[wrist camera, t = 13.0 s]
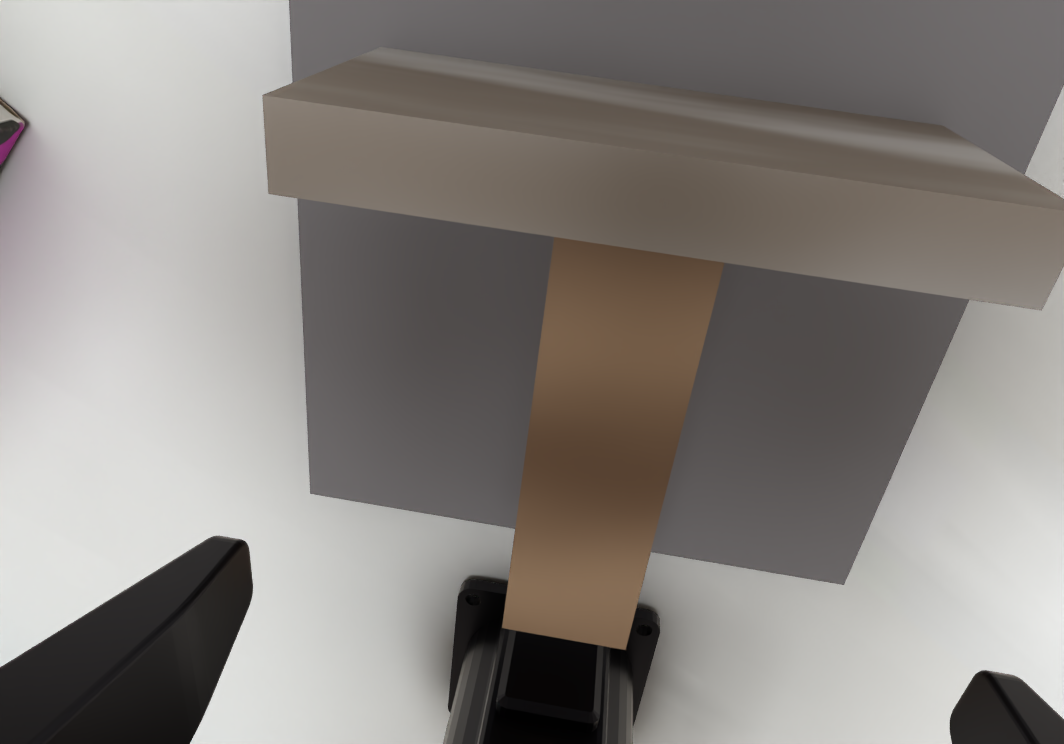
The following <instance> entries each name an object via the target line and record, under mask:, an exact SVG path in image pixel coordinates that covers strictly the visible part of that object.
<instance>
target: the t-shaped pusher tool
mask: <svg viewBox="0 0 1064 744" xmlns="http://www.w3.org/2000/svg"><path fill="white" fill-rule="evenodd" d="M262 96H263V112H264V128H265V144H266V160H267V176H268V192H269V194H273V195H280V196H286V197H293V198H299V199H306V200H313V201H319V202H326V203H333V204H339V205H346V206H353V207H359V208H366V209H372V210H379V211H386V212H392V213H399V214H406V215H412V216H419V217H425V218H432V219H439V220H445V221H452V222H459V223H465V224H472V225H479V226H485V227H492V228H498V229H505V230H512V231H518V232H525V233H532V234H538V235H545V236H551V237H554V242H553V250H552V257H551V265H550V272H549V280H548V287H547V295H546V302H545V310H544V317H543V325H542V332H541V340H540V347H539V355H538V362H537V370H536V377H535V385H534V392H533V400H532V407H531V415H530V422H529V430H528V437H527V445H526V452H525V460H524V467H523V475H522V482H521V490H520V497H519V505H518V512H517V520H516V527H515V535H514V542H513V550H512V557H511V565H510V572H509V580H508V587H507V595H506V602H505V610H504V617H503V625H502V628H505V629H510V630H516V631H521V632H527V633H533V634H538V635H544V636H550V637H555V638H561V639H566V640H572V641H578V642H583V643H589V644H595V645H600V646H606V647H611V648H617V649H623V650H626V646H627V642H628V638H629V634H630V630H631V627H632V623H633V619H634V615H635V611H636V607H637V603H638V599H639V595H640V591H641V587H642V584H643V580H644V576H645V572H646V568H647V564H648V560H649V556H650V552H651V548H652V544H653V540H654V537H655V533H656V529H657V525H658V521H659V517H660V513H661V509H662V505H663V501H664V497H665V494H666V490H667V486H668V482H669V478H670V474H671V470H672V466H673V462H674V458H675V454H676V451H677V447H678V443H679V439H680V435H681V431H682V427H683V423H684V419H685V415H686V411H687V408H688V404H689V400H690V396H691V392H692V388H693V384H694V380H695V376H696V372H697V368H698V365H699V361H700V357H701V353H702V349H703V345H704V341H705V337H706V333H707V329H708V325H709V322H710V318H711V314H712V310H713V306H714V302H715V298H716V294H717V290H718V286H719V282H720V278H721V275H722V271H723V267H724V263H731V264H737V265H744V266H750V267H757V268H764V269H770V270H777V271H784V272H790V273H797V274H803V275H810V276H817V277H823V278H830V279H837V280H843V281H850V282H857V283H863V284H870V285H876V286H883V287H890V288H896V289H903V290H910V291H916V292H923V293H929V294H936V295H943V296H949V297H956V298H963V299H969V300H976V301H983V302H989V303H996V304H1002V305H1009V306H1016V307H1022V308H1029V309H1036V310H1042V309H1043V307H1044V305H1045V303H1046V301H1047V299H1048V297H1049V295H1050V293H1051V291H1052V289H1053V287H1054V284H1055V282H1056V280H1057V278H1058V276H1059V274H1060V272H1061V270H1062V268H1063V266H1064V199H1063V198H1061V197H1060V196H1058V195H1056V194H1055V193H1053V192H1051V191H1050V190H1048V189H1047V188H1045V187H1043V186H1042V185H1040V184H1038V183H1037V182H1035V181H1033V180H1032V179H1030V178H1028V177H1027V176H1025V175H1023V174H1022V173H1020V172H1019V171H1017V170H1015V169H1014V168H1012V167H1010V166H1009V165H1007V164H1005V163H1004V162H1002V161H1000V160H999V159H997V158H996V157H994V156H992V155H991V154H989V153H987V152H986V151H984V150H982V149H981V148H979V147H977V146H976V145H974V144H972V143H971V142H969V141H968V140H966V139H964V138H963V137H961V136H959V135H958V134H956V133H954V132H953V131H951V130H949V129H948V128H946V127H945V126H943V125H936V124H929V123H921V122H914V121H907V120H900V119H893V118H886V117H878V116H871V115H864V114H857V113H850V112H843V111H835V110H828V109H821V108H814V107H807V106H800V105H792V104H785V103H778V102H771V101H764V100H757V99H749V98H742V97H735V96H728V95H721V94H714V93H706V92H699V91H692V90H685V89H678V88H671V87H664V86H656V85H649V84H642V83H635V82H628V81H621V80H613V79H606V78H599V77H592V76H585V75H578V74H570V73H563V72H556V71H549V70H542V69H535V68H527V67H520V66H513V65H506V64H499V63H492V62H484V61H477V60H470V59H463V58H456V57H449V56H441V55H434V54H427V53H420V52H413V51H406V50H399V49H391V48H384V47H380V48H378V49H375V50H373V51H370V52H368V53H365V54H363V55H360V56H358V57H355V58H353V59H351V60H348V61H346V62H343V63H341V64H338V65H336V66H333V67H331V68H328V69H326V70H323V71H321V72H319V73H316V74H314V75H311V76H309V77H306V78H304V79H301V80H299V81H296V82H294V83H292V84H289V85H287V86H284V87H282V88H279V89H277V90H274V91H272V92H269V93H267V94H265V95H262Z"/></svg>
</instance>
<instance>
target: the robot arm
mask: <svg viewBox="0 0 1064 744" xmlns="http://www.w3.org/2000/svg"><path fill="white" fill-rule="evenodd" d="M507 587H508V585H504V584H498V583H493V582H487V581H481V580H468V581H465V582H464V583H463V584H462V585H461V588H460V591H459V595H458V601H457V612H456V624H455V635H454V646H453V657H452V669H451V680H450V691H449V702H448V709H449V712H450V717H449V721H448V725H447V729H446V733H445V737H444V741H443V744H633V725H634V722H635V718H636V715H637V711H638V708H639V704H640V701H641V697H642V694H643V690H644V687H645V683H646V680H647V676H648V673H649V669H650V666H651V662H652V659H653V655H654V652H655V648H656V645H657V641H658V638H659V634H660V619H659V617H658V615H657V614H656V613H654V612H653V611H650V610H647V609H641V608H636V611H635V615H634V619H633V623H632V627H631V630H630V634H629V638H628V642H627V646H626V650H623V649H617V648H611V647H606V646H600V645H595V644H589V643H583V642H578V641H572V640H566V639H561V638H555V637H550V636H544V635H538V634H533V633H527V632H521V631H516V630H510V629H505V628H502V625H503V617H504V610H505V602H506V595H507ZM252 593H253V581H252V572H251V562H250V552H249V547H248V545H247V543H246V542H245V541H243V540H241V539H235V538H229V537H223V536H213V537H211V538H208V539H207V540H205V541H203V542H202V543H200V544H199V545H197V546H195V547H194V548H192V549H191V550H189V551H187V552H186V553H184V554H182V555H181V556H179V557H178V558H176V559H174V560H173V561H171V562H170V563H168V564H166V565H165V566H163V567H161V568H160V569H158V570H157V571H155V572H153V573H152V574H150V575H149V576H147V577H145V578H144V579H142V580H140V581H139V582H137V583H136V584H134V585H132V586H131V587H129V588H128V589H126V590H124V591H123V592H121V593H120V594H118V595H116V596H115V597H113V598H111V599H110V600H108V601H107V602H105V603H103V604H102V605H100V606H99V607H97V608H95V609H94V610H92V611H90V612H89V613H87V614H86V615H84V616H82V617H81V618H79V619H78V620H76V621H74V622H73V623H71V624H70V625H68V626H66V627H65V628H63V629H61V630H60V631H58V632H57V633H55V634H53V635H52V636H50V637H49V638H47V639H45V640H44V641H42V642H40V643H39V644H37V645H36V646H34V647H32V648H31V649H29V650H28V651H26V652H24V653H23V654H21V655H20V656H18V657H16V658H15V659H13V660H11V661H10V662H8V663H7V664H5V665H3V666H2V667H0V744H190V742H191V740H192V738H193V736H194V734H195V732H196V730H197V728H198V726H199V724H200V722H201V720H202V718H203V716H204V714H205V712H206V709H207V707H208V705H209V702H210V700H211V698H212V695H213V693H214V690H215V688H216V686H217V683H218V681H219V678H220V676H221V673H222V671H223V669H224V666H225V664H226V661H227V659H228V657H229V654H230V652H231V649H232V647H233V644H234V642H235V640H236V637H237V635H238V632H239V630H240V627H241V625H242V623H243V620H244V618H245V615H246V613H247V610H248V608H249V605H250V602H251V599H252ZM470 594H474V595H477V596H478V597H475V596H472V595H470ZM645 624H646V625H648V626H641V625H645ZM950 735H951V740H952V744H1064V719H1063V718H1062V717H1061V716H1060V715H1059V714H1058V713H1057V712H1056V711H1055V710H1053V709H1052V708H1051V707H1050V706H1049V705H1048V704H1047V703H1046V702H1045V701H1044V700H1043V699H1042V698H1041V697H1040V696H1039V695H1038V694H1037V693H1036V692H1035V691H1034V690H1032V689H1031V688H1030V687H1029V686H1028V685H1027V684H1026V683H1025V682H1024V681H1023V680H1021V679H1020V678H1018V677H1016V676H1014V675H1010V674H1004V673H998V672H993V671H987V670H984V671H980V672H978V673H977V674H975V676H974V677H973V678H972V680H971V682H970V683H969V685H968V687H967V688H966V690H965V691H964V693H963V695H962V696H961V698H960V699H959V701H958V703H957V704H956V706H955V708H954V709H953V711H952V714H951V718H950Z"/></svg>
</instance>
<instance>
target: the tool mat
mask: <svg viewBox="0 0 1064 744" xmlns="http://www.w3.org/2000/svg"><path fill="white" fill-rule="evenodd" d="M289 8H290V32H291V55H292V78H293V83H294V82H296V81H299V80H301V79H304V78H306V77H309V76H311V75H314V74H316V73H319V72H321V71H323V70H326V69H328V68H331V67H333V66H336V65H338V64H341V63H343V62H346V61H348V60H351V59H353V58H355V57H358V56H360V55H363V54H365V53H368V52H370V51H373V50H375V49H378V48H380V47H384V48H391V49H399V50H406V51H413V52H420V53H427V54H434V55H441V56H449V57H456V58H463V59H470V60H477V61H484V62H492V63H499V64H506V65H513V66H520V67H527V68H535V69H542V70H549V71H556V72H563V73H570V74H578V75H585V76H592V77H599V78H606V79H613V80H621V81H628V82H635V83H642V84H649V85H656V86H664V87H671V88H678V89H685V90H692V91H699V92H706V93H714V94H721V95H728V96H735V97H742V98H749V99H757V100H764V101H771V102H778V103H785V104H792V105H800V106H807V107H814V108H821V109H828V110H835V111H843V112H850V113H857V114H864V115H871V116H878V117H886V118H893V119H900V120H907V121H914V122H921V123H929V124H936V125H943V126H945V127H946V128H948V129H949V130H951V131H953V132H954V133H956V134H958V135H959V136H961V137H963V138H964V139H966V140H968V141H969V142H971V143H972V144H974V145H976V146H977V147H979V148H981V149H982V150H984V151H986V152H987V153H989V154H991V155H992V156H994V157H996V158H997V159H999V160H1000V161H1002V162H1004V163H1005V164H1007V165H1009V166H1010V167H1012V168H1014V169H1015V170H1017V171H1019V172H1020V173H1022V174H1023V175H1024V174H1025V172H1026V169H1027V167H1028V165H1029V162H1030V160H1031V158H1032V156H1033V153H1034V151H1035V149H1036V147H1037V144H1038V142H1039V140H1040V137H1041V135H1042V133H1043V131H1044V128H1045V126H1046V124H1047V122H1048V119H1049V117H1050V115H1051V112H1052V110H1053V108H1054V106H1055V103H1056V101H1057V99H1058V97H1059V94H1060V92H1061V90H1062V87H1063V85H1064V0H289ZM298 218H299V242H300V265H301V288H302V311H303V335H304V358H305V381H306V405H307V428H308V451H309V475H310V494H316V495H321V496H327V497H333V498H339V499H345V500H351V501H356V502H362V503H368V504H374V505H380V506H386V507H392V508H397V509H403V510H409V511H415V512H421V513H427V514H432V515H438V516H444V517H450V518H456V519H462V520H468V521H473V522H479V523H485V524H491V525H497V526H503V527H508V528H514V529H515V527H516V520H517V512H518V505H519V497H520V490H521V482H522V475H523V467H524V460H525V452H526V445H527V437H528V430H529V422H530V415H531V407H532V400H533V392H534V385H535V377H536V370H537V362H538V355H539V347H540V340H541V332H542V325H543V317H544V310H545V302H546V295H547V287H548V280H549V272H550V265H551V257H552V250H553V242H554V237H551V236H545V235H538V234H532V233H525V232H518V231H512V230H505V229H498V228H492V227H485V226H479V225H472V224H465V223H459V222H452V221H445V220H439V219H432V218H425V217H419V216H412V215H406V214H399V213H392V212H386V211H379V210H372V209H366V208H359V207H353V206H346V205H339V204H333V203H326V202H319V201H313V200H306V199H299V198H298ZM968 301H969V299H963V298H956V297H949V296H943V295H936V294H929V293H923V292H916V291H910V290H903V289H896V288H890V287H883V286H876V285H870V284H863V283H857V282H850V281H843V280H837V279H830V278H823V277H817V276H810V275H803V274H797V273H790V272H784V271H777V270H770V269H764V268H757V267H750V266H744V265H737V264H731V263H724V267H723V271H722V275H721V278H720V282H719V286H718V290H717V294H716V298H715V302H714V306H713V310H712V314H711V318H710V322H709V325H708V329H707V333H706V337H705V341H704V345H703V349H702V353H701V357H700V361H699V365H698V368H697V372H696V376H695V380H694V384H693V388H692V392H691V396H690V400H689V404H688V408H687V411H686V415H685V419H684V423H683V427H682V431H681V435H680V439H679V443H678V447H677V451H676V454H675V458H674V462H673V466H672V470H671V474H670V478H669V482H668V486H667V490H666V494H665V497H664V501H663V505H662V509H661V513H660V517H659V521H658V525H657V529H656V533H655V537H654V540H653V544H652V548H651V552H655V553H660V554H666V555H672V556H678V557H684V558H690V559H696V560H701V561H707V562H713V563H719V564H725V565H731V566H737V567H742V568H748V569H754V570H760V571H766V572H772V573H777V574H783V575H789V576H795V577H801V578H807V579H813V580H818V581H824V582H830V583H836V584H842V585H844V583H845V581H846V579H847V576H848V574H849V572H850V570H851V567H852V565H853V563H854V561H855V558H856V556H857V554H858V551H859V549H860V547H861V545H862V542H863V540H864V538H865V535H866V533H867V531H868V529H869V526H870V524H871V522H872V520H873V517H874V515H875V513H876V510H877V508H878V506H879V504H880V501H881V499H882V497H883V495H884V492H885V490H886V488H887V485H888V483H889V481H890V479H891V476H892V474H893V472H894V470H895V467H896V465H897V463H898V460H899V458H900V456H901V454H902V451H903V449H904V447H905V445H906V442H907V440H908V438H909V435H910V433H911V431H912V429H913V426H914V424H915V422H916V419H917V417H918V415H919V413H920V410H921V408H922V406H923V404H924V401H925V399H926V397H927V394H928V392H929V390H930V388H931V385H932V383H933V381H934V379H935V376H936V374H937V372H938V369H939V367H940V365H941V363H942V360H943V358H944V356H945V354H946V351H947V349H948V347H949V344H950V342H951V340H952V338H953V335H954V333H955V331H956V329H957V326H958V324H959V322H960V319H961V317H962V315H963V313H964V310H965V308H966V306H967V303H968Z"/></svg>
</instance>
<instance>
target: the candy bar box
mask: <svg viewBox="0 0 1064 744" xmlns="http://www.w3.org/2000/svg"><path fill="white" fill-rule="evenodd" d="M24 127H25V122H24V121H23V120H22V119H21V118H20V117H19V116H18V115H17V114H16V113H15V112H14V111H13V110H12V109H11V108H10V107H9V106H8V105H7V104H6V103H4V102H3V101H2V100H1V99H0V167H1V166H2V164H3V162H4V161H5V159H6V157H7V155H8V154H9V152H10V150H11V149H12V147H13V145H14V143H15V142H16V140H17V138H18V136H19V135H20V133H21V132H22V130H23V128H24Z"/></svg>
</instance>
